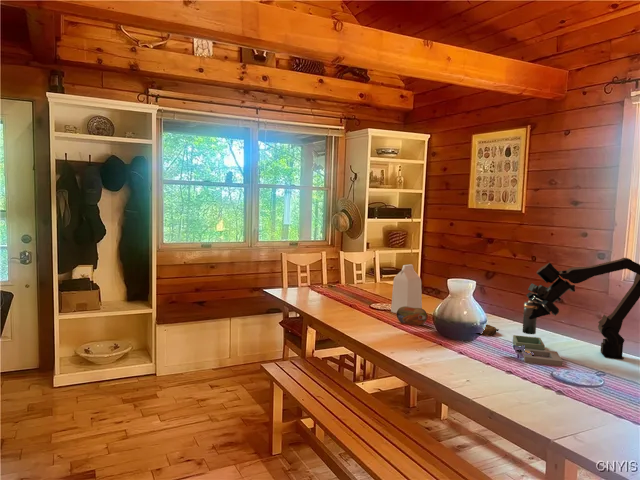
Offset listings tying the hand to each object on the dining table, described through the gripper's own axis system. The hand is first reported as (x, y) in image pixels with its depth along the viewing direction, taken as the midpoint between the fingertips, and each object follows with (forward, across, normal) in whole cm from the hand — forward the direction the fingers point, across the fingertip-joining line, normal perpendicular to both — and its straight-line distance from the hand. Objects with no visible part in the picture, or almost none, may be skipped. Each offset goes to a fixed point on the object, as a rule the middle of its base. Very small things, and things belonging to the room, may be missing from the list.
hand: (526, 316), depth 186 cm
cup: (+9, 0, +10) cm, 13 cm away
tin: (+39, -33, -20) cm, 55 cm away
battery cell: (+4, 0, +6) cm, 7 cm away
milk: (+38, -55, -20) cm, 70 cm away
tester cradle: (+9, +13, +10) cm, 19 cm away
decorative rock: (+17, -24, +2) cm, 29 cm away
